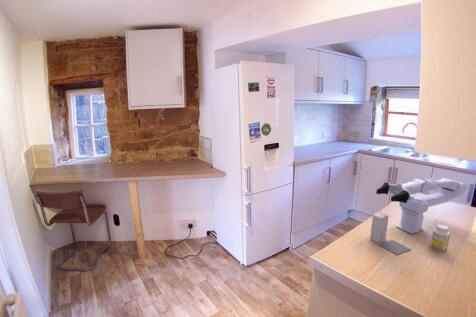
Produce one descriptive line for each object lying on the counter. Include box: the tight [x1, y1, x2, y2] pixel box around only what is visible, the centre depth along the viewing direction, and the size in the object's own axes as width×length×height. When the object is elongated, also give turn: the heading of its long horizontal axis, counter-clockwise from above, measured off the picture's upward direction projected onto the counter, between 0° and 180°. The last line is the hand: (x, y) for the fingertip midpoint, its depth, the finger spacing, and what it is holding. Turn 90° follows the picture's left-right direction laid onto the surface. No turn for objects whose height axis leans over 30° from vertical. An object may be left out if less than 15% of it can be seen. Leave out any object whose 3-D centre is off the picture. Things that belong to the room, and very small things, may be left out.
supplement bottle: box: [430, 224, 451, 252], centre depth 113 cm, size 6×6×10 cm
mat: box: [377, 239, 412, 256], centre depth 115 cm, size 9×8×1 cm
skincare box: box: [369, 211, 389, 244], centre depth 120 cm, size 6×4×12 cm
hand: (384, 195), depth 119 cm, fingers open, 7 cm apart
